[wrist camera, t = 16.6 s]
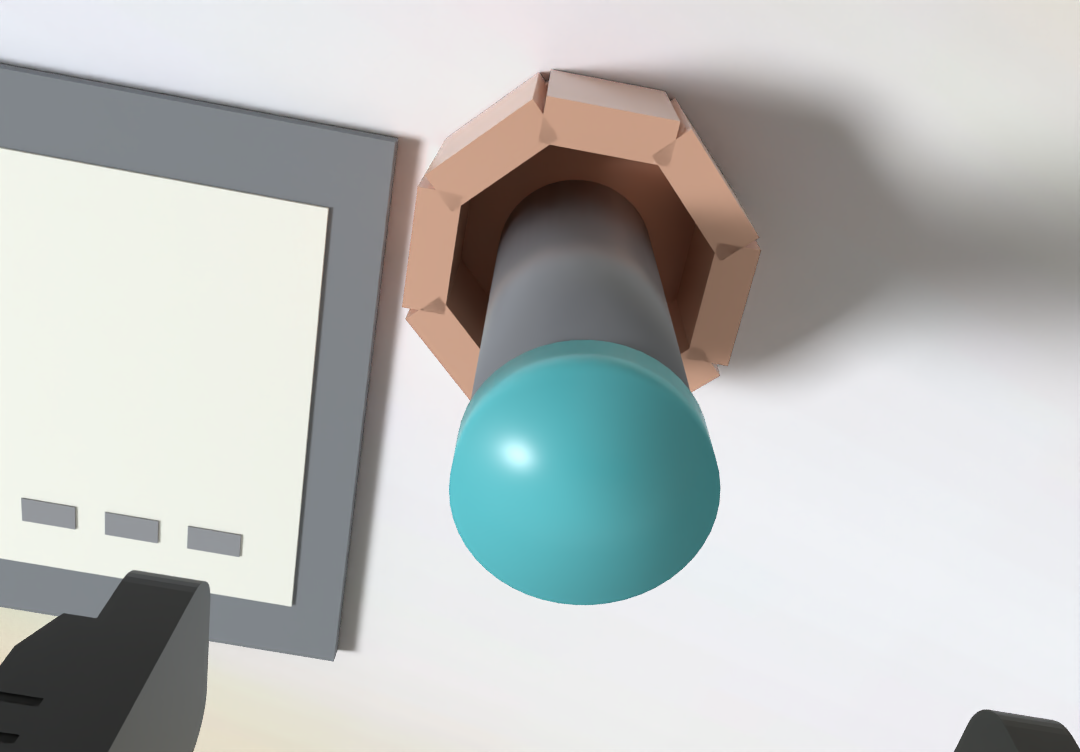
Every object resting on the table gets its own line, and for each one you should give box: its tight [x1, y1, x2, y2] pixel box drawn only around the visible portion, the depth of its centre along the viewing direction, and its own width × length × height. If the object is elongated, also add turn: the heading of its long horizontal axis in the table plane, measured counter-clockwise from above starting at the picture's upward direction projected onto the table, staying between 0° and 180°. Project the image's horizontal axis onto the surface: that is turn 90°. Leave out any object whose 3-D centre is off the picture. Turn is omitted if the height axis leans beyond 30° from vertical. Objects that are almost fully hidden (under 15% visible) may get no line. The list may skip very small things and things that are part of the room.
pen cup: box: [402, 69, 761, 401], centre depth 25 cm, size 8×8×4 cm
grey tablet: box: [0, 64, 398, 661], centre depth 29 cm, size 17×13×1 cm
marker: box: [449, 180, 720, 605], centre depth 20 cm, size 4×4×12 cm
